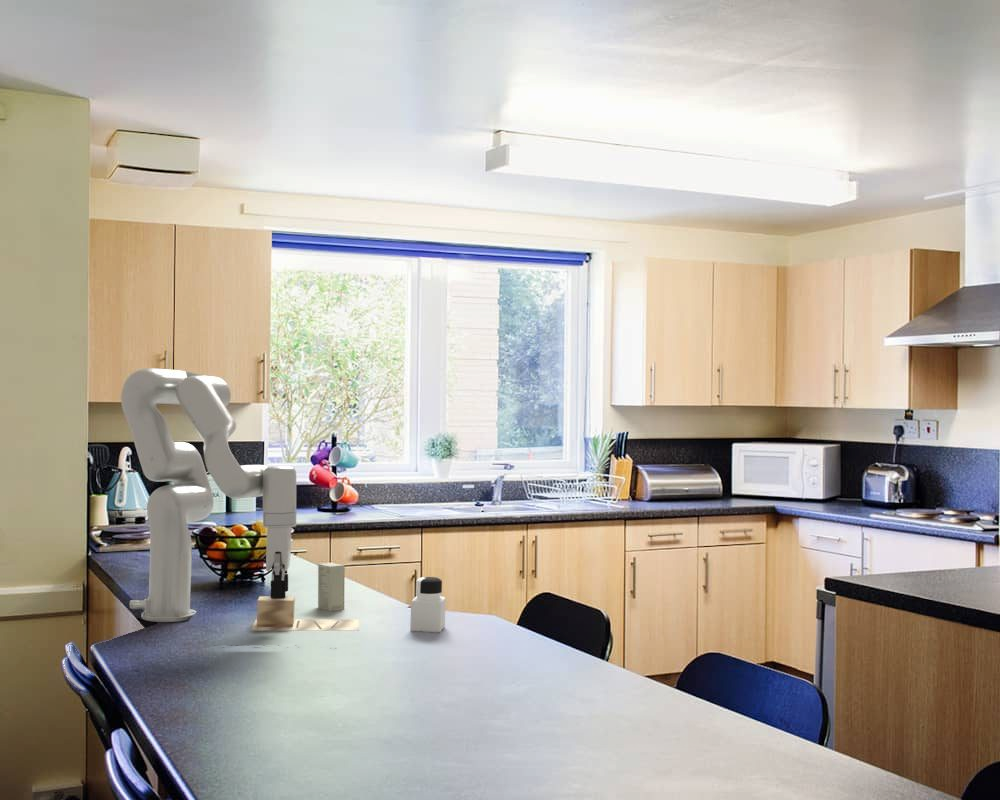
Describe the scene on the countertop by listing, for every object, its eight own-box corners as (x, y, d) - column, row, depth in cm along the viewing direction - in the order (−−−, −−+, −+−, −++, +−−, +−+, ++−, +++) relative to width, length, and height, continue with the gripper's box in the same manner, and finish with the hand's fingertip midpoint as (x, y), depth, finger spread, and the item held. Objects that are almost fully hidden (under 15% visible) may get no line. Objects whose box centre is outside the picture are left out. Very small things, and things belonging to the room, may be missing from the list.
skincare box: (344, 614, 261) (346, 565, 262) (329, 615, 259) (330, 566, 259) (331, 609, 266) (333, 561, 266) (316, 611, 263) (317, 563, 264)
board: (250, 635, 234) (250, 630, 234) (255, 624, 246) (255, 619, 246) (359, 635, 238) (359, 630, 238) (358, 624, 250) (359, 619, 250)
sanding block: (256, 626, 238) (257, 600, 238) (258, 622, 243) (259, 596, 243) (292, 626, 239) (293, 600, 239) (293, 622, 244) (294, 596, 244)
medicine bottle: (445, 626, 250) (446, 576, 250) (440, 632, 243) (441, 580, 243) (415, 625, 251) (416, 574, 251) (409, 631, 244) (411, 579, 244)
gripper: (266, 517, 249) (266, 589, 249) (259, 524, 232) (259, 601, 232) (298, 516, 250) (298, 588, 250) (294, 523, 233) (294, 600, 233)
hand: (279, 594), depth 241 cm, fingers open, 9 cm apart
